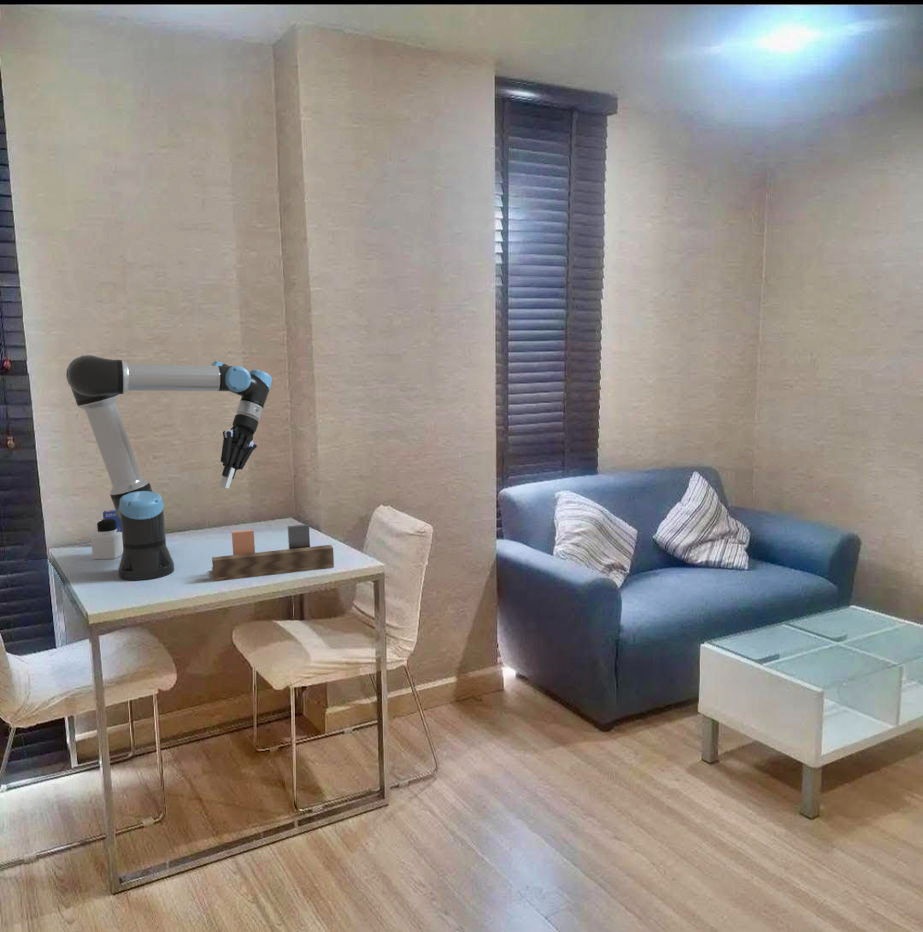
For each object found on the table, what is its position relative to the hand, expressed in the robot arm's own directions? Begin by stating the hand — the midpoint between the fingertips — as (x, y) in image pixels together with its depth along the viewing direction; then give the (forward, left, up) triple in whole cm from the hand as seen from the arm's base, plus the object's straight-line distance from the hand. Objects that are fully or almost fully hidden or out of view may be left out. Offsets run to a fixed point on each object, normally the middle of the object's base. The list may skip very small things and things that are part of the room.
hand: (224, 487), depth 241 cm
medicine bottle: (-36, +16, -22) cm, 45 cm away
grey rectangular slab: (+19, -21, -21) cm, 35 cm away
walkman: (-34, +32, -22) cm, 52 cm away
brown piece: (+11, -21, -22) cm, 32 cm away
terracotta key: (+3, -21, -21) cm, 29 cm away
